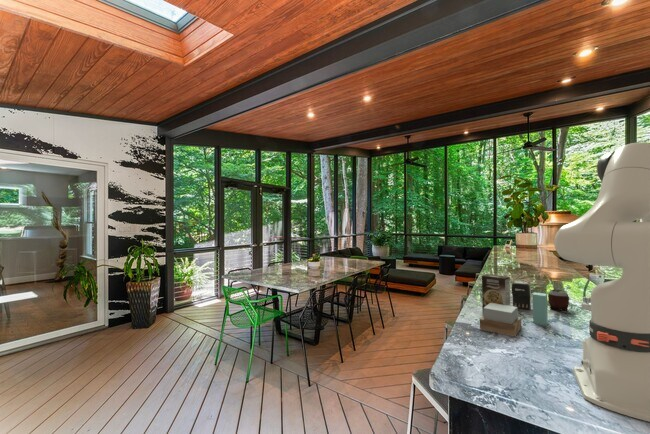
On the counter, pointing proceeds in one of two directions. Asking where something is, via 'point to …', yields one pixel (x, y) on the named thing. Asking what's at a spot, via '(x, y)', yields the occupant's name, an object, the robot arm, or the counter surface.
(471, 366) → the counter surface
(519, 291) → the battery charger
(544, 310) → the teal block
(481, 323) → the tower base
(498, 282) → the coffee box
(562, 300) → the mate gourd
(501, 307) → the tower top
